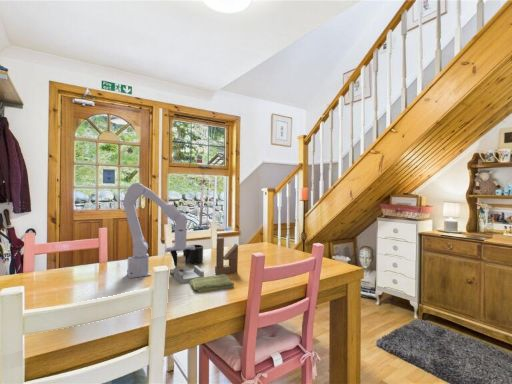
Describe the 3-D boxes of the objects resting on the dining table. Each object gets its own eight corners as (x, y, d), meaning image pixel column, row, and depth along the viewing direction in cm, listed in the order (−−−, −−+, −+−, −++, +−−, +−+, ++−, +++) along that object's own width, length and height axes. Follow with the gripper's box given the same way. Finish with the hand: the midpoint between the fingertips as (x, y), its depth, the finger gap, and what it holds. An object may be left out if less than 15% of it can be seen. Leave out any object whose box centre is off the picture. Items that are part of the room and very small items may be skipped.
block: (175, 267, 143) (175, 255, 143) (183, 266, 145) (183, 254, 145) (177, 269, 140) (177, 257, 140) (185, 268, 142) (185, 256, 142)
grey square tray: (180, 283, 126) (180, 274, 126) (173, 276, 135) (174, 268, 135) (203, 280, 131) (204, 271, 131) (196, 273, 141) (196, 265, 141)
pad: (171, 275, 137) (171, 273, 137) (168, 271, 143) (168, 269, 143) (191, 272, 142) (191, 270, 142) (187, 268, 148) (187, 267, 148)
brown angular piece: (237, 273, 143) (238, 237, 143) (217, 275, 138) (217, 238, 138) (235, 271, 146) (235, 236, 146) (214, 273, 142) (215, 237, 141)
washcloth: (188, 283, 127) (188, 276, 127) (226, 279, 134) (226, 272, 134) (194, 294, 115) (194, 286, 115) (235, 288, 122) (235, 281, 122)
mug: (190, 266, 152) (190, 249, 152) (183, 261, 163) (183, 245, 163) (206, 264, 157) (207, 248, 157) (199, 259, 168) (199, 244, 167)
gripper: (167, 240, 135) (167, 268, 136) (197, 238, 143) (196, 265, 143) (164, 238, 141) (163, 265, 142) (192, 236, 149) (192, 261, 149)
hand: (180, 265), depth 143 cm, fingers closed on block, 4 cm apart
